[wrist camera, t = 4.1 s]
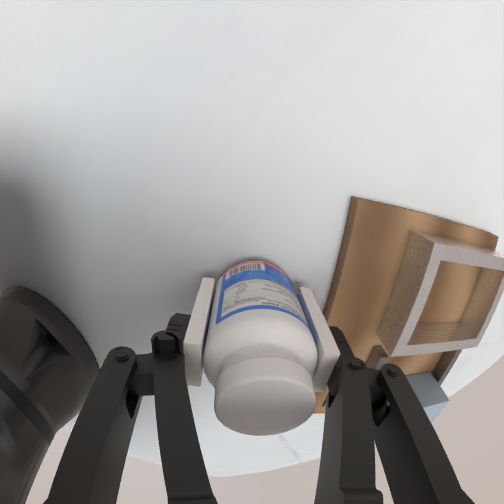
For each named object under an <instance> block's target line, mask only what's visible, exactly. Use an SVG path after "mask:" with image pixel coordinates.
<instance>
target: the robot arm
mask: <svg viewBox="0 0 504 504" xmlns="http://www.w3.org/2000/svg"><path fill="white" fill-rule="evenodd" d="M214 284H215V278H207V277H203V279H202V282H201V285H200V288H199V292H198V295H197V298H196V301H195V305H194V308H193V311H192V315H186V314H179V313H176V314H175V315H174V316H172V317H171V318H170V321H169V323H168V326H167V329H166V330H165V331H159V332H157V333H155V334H154V335H153V336H152V339H151V343H152V353H149V354H142V355H136V354H135V352H134V351H133V350H132V349H131V348H128V347H116V348H114V349H112V350H111V351H110V352H109V353H108V355H107V357H106V359H105V361H104V363H103V365H102V367H101V369H100V371H99V368H98V365H97V363H96V360H95V358H94V356H93V354H92V352H91V350H90V349H89V347H88V345H87V344H86V342H85V341H84V339H83V338H82V336H81V335H80V334H79V332H78V331H77V330H76V328H75V327H74V326H73V325H72V324H71V322H70V321H69V320H68V319H67V318H66V317H65V316H64V315H63V314H62V313H61V312H60V311H59V310H58V309H57V308H56V307H55V306H53V305H52V304H51V303H50V302H49V301H47V300H46V299H45V298H43V297H42V296H40V295H39V294H37V293H35V292H33V291H31V290H29V289H26V288H22V287H13V288H10V289H9V290H7V291H6V292H4V293H3V294H2V295H1V296H0V504H25V502H26V499H27V496H28V494H29V492H30V489H31V487H32V484H33V482H34V479H35V477H36V474H37V472H38V470H39V468H40V465H41V463H42V461H43V459H44V456H45V454H46V452H47V450H48V448H49V446H50V444H51V442H52V440H53V438H54V436H55V434H56V432H57V431H58V430H59V429H60V428H62V427H63V426H64V425H65V424H66V423H68V422H69V421H70V420H71V419H73V418H74V417H75V416H76V415H77V414H78V413H79V412H80V413H79V416H78V418H77V420H76V423H75V425H74V427H73V430H72V432H71V435H70V437H69V440H68V442H67V445H66V447H65V450H64V453H63V455H62V458H61V461H60V463H59V466H58V469H57V472H56V475H55V477H54V481H53V484H52V487H51V490H50V493H49V496H48V499H47V500H46V501H45V502H44V503H43V504H116V501H117V496H118V491H119V487H120V482H121V477H122V473H123V469H124V464H125V460H126V456H127V452H128V448H129V444H130V440H131V436H132V432H133V429H134V425H135V421H136V418H137V414H138V411H139V407H140V404H141V400H142V397H143V396H146V395H155V409H156V420H157V430H158V439H159V447H160V454H161V461H162V467H163V474H164V480H165V485H166V491H167V496H168V504H218V503H217V501H216V498H215V497H214V495H213V493H212V489H211V486H210V483H209V479H208V476H207V472H206V468H205V465H204V461H203V457H202V453H201V449H200V445H199V441H198V436H197V432H196V428H195V423H194V418H193V414H192V409H191V404H190V399H189V393H188V388H187V385H194V386H200V384H201V378H202V372H203V352H204V345H205V340H206V334H207V329H208V323H209V317H210V312H211V306H212V300H213V295H214ZM297 297H298V300H299V303H300V305H301V308H302V310H303V313H304V315H305V318H306V320H307V323H308V326H309V328H310V331H311V333H312V336H313V339H314V342H315V345H316V348H317V365H316V369H315V371H314V374H313V376H312V377H311V378H312V382H313V388H314V392H324V390H325V388H326V386H328V389H329V392H328V394H327V396H326V398H325V400H324V402H323V404H322V406H323V407H324V405H325V403H326V409H325V422H324V433H323V443H322V452H321V461H320V469H319V477H318V483H317V490H316V496H315V502H314V504H383V494H382V492H381V491H379V490H377V489H376V486H375V449H374V448H375V447H374V441H375V444H376V447H377V450H378V453H379V456H380V459H381V462H382V465H383V468H384V472H385V475H386V478H387V481H388V485H389V488H390V491H391V495H392V498H393V501H394V504H475V503H474V502H473V501H472V500H471V499H470V498H469V497H468V496H467V495H466V493H465V492H464V491H463V490H462V489H461V487H460V484H459V482H458V480H457V477H456V475H455V473H454V470H453V468H452V466H451V463H450V461H449V459H448V457H447V455H446V453H445V451H444V449H443V446H442V444H441V442H440V440H439V438H438V436H437V434H436V432H435V430H434V428H433V426H432V424H431V422H430V420H429V418H428V416H427V414H426V412H425V410H424V409H423V407H422V405H421V403H420V401H419V399H418V397H417V396H416V394H415V392H414V390H413V388H412V387H411V385H410V383H409V381H408V379H407V378H406V376H405V374H404V372H403V371H402V370H401V368H400V367H398V366H397V365H394V364H389V363H387V364H384V365H383V366H382V367H381V369H380V370H377V369H372V368H368V367H367V366H366V364H365V363H364V361H363V360H361V359H359V358H356V357H355V356H354V354H353V352H352V350H351V348H350V346H349V344H348V343H347V340H346V338H345V336H344V334H343V332H342V331H341V330H340V329H339V328H338V327H337V326H328V325H327V322H326V320H325V318H324V316H323V314H322V311H321V309H320V307H319V305H318V303H317V301H316V299H315V296H314V294H313V292H312V290H311V288H304V287H299V291H298V296H297ZM388 402H389V404H388ZM389 405H390V406H389Z"/></svg>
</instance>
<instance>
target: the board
mask: <svg viewBox="0 0 504 504" xmlns="http://www.w3.org/2000/svg"><path fill="white" fill-rule="evenodd" d="M410 229H411V230H415V231H420V232H425V233H429V234H433V235H438V236H442V237H447V238H451V239H455V240H459V241H463V242H467V243H471V244H475V245H479V246H483V247H487V248H490V249H493V250H495V248H496V245H497V241H498V236H496V235H493V234H491V233H489V232H486V231H483V230H480V229H477V228H473V227H470V226H467V225H464V224H461V223H457V222H454V221H451V220H447V219H444V218H440V217H436V216H433V215H429V214H425V213H422V212H418V211H414V210H410V209H406V208H402V207H398V206H394V205H389V204H385V203H381V202H376V201H372V200H367V199H362V198H357V197H352V198H351V203H350V208H349V213H348V218H347V223H346V228H345V232H344V237H343V241H342V246H341V250H340V254H339V258H338V262H337V266H336V270H335V274H334V278H333V282H332V286H331V289H330V293H329V297H328V300H327V304H326V307H325V311H324V314H323V316H324V318H325V320H326V322H327V325H328V326H337V327H338V328H339V329H340V330H341V331H342V332H343V334H344V336H345V338H346V340H347V343H348V344H349V346H350V348H351V350H352V352H353V354H354V356H355V357H356V358H359V359H361V360H363V361H364V363H366V361H367V359H368V357H369V355H370V352H371V350H372V348H373V346H374V345H382V347H383V348H384V350H385V352H386V353H387V355H388V357H389V358H388V360H387V362H386V364H387V363H389V364H394V365H397V366H398V367H400V368H401V370H402V371H403V372H404V374H405V376H407V375H414V374H421V373H428V372H431V373H432V371H433V370H434V368H435V366H436V365H437V363H438V361H439V359H440V358H441V356H442V354H443V352H437V353H429V354H419V355H408V356H395V357H391V356H390V355H389V353H388V352H387V350H386V348H385V347H384V345H383V344H382V342H381V340H380V339H379V337H378V336H377V334H376V332H377V329H378V327H379V324H380V322H381V319H382V317H383V314H384V312H385V309H386V306H387V304H388V301H389V298H390V295H391V293H392V290H393V287H394V284H395V281H396V278H397V275H398V271H399V268H400V265H401V262H402V258H403V255H404V251H405V248H406V244H407V240H408V236H409V233H410ZM480 270H481V267H478V266H473V265H467V264H461V263H455V262H448V261H442V260H441V261H440V264H439V267H438V270H437V273H436V276H435V279H434V282H433V285H432V287H431V290H430V293H429V295H428V298H427V301H426V303H425V306H424V308H423V310H422V313H421V315H420V318H419V320H418V322H417V323H433V322H460V320H461V318H462V315H463V313H464V311H465V309H466V306H467V304H468V302H469V299H470V297H471V294H472V292H473V289H474V286H475V284H476V281H477V278H478V275H479V273H480ZM328 392H329V389H328V386H326V388H325V390H324V392H315V396H316V407H315V410H314V412H313V413H312V414H316V413H325V409H326V403H325V405H324V407H323V406H322V404H323V402H324V400H325V398H326V396H327V394H328Z"/></svg>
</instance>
